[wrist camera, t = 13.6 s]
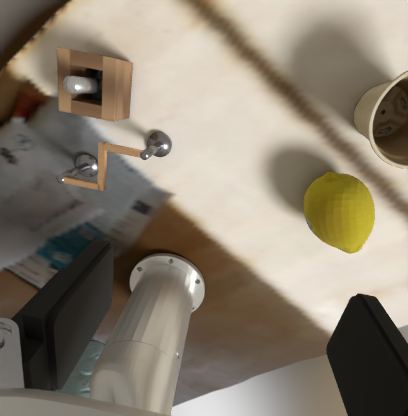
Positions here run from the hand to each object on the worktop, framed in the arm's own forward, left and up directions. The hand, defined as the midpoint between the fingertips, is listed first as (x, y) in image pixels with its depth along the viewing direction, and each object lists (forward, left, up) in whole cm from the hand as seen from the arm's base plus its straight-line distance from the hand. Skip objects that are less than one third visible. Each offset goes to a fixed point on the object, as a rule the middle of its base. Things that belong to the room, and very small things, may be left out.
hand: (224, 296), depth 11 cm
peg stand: (+5, +17, -28) cm, 34 cm away
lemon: (-4, -14, -28) cm, 32 cm away
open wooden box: (+5, +17, -28) cm, 33 cm away
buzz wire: (-3, +15, -28) cm, 32 cm away
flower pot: (+8, -16, -28) cm, 34 cm away
